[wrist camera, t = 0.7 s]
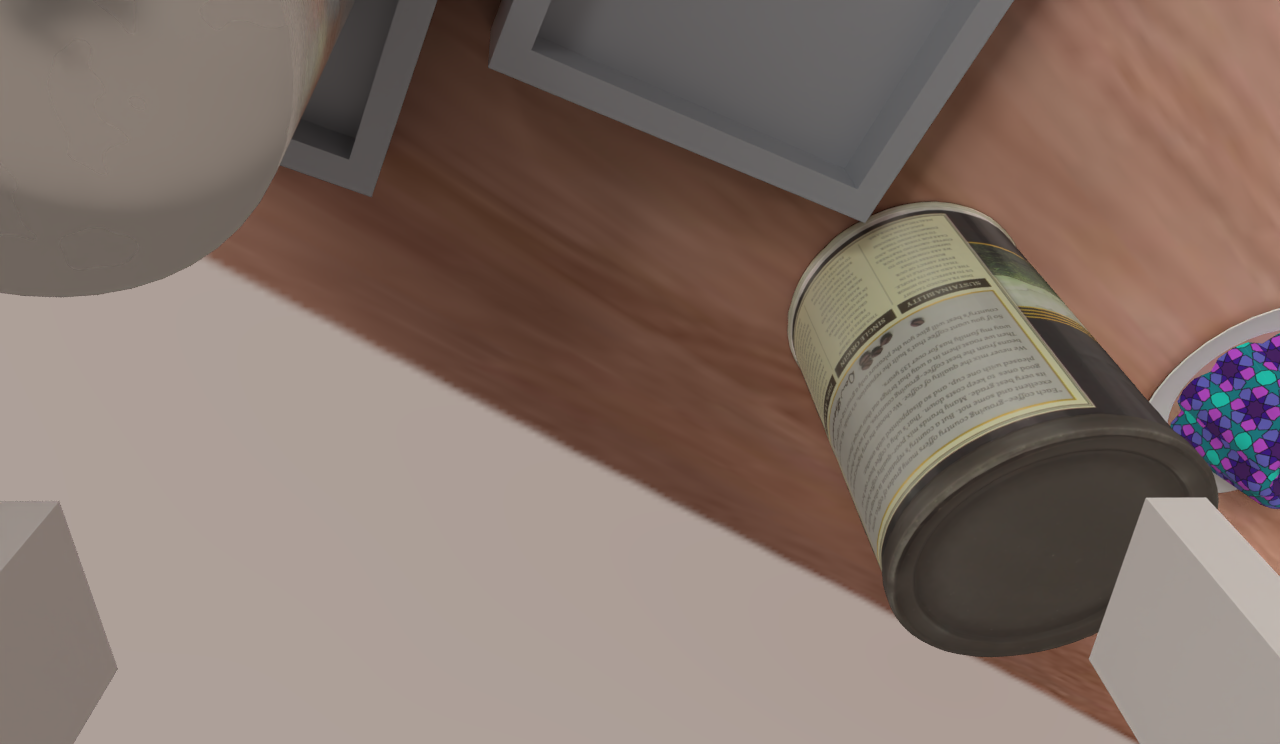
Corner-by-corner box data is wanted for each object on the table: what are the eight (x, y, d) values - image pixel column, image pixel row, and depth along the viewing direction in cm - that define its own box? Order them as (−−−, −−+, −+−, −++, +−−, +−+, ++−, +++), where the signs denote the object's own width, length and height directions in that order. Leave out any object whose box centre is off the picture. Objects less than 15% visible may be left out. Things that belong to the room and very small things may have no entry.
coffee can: (1057, 201, 38) (1285, 431, 27) (978, 400, 44) (1136, 654, 33) (810, 192, 36) (942, 431, 25) (764, 399, 42) (854, 665, 31)
